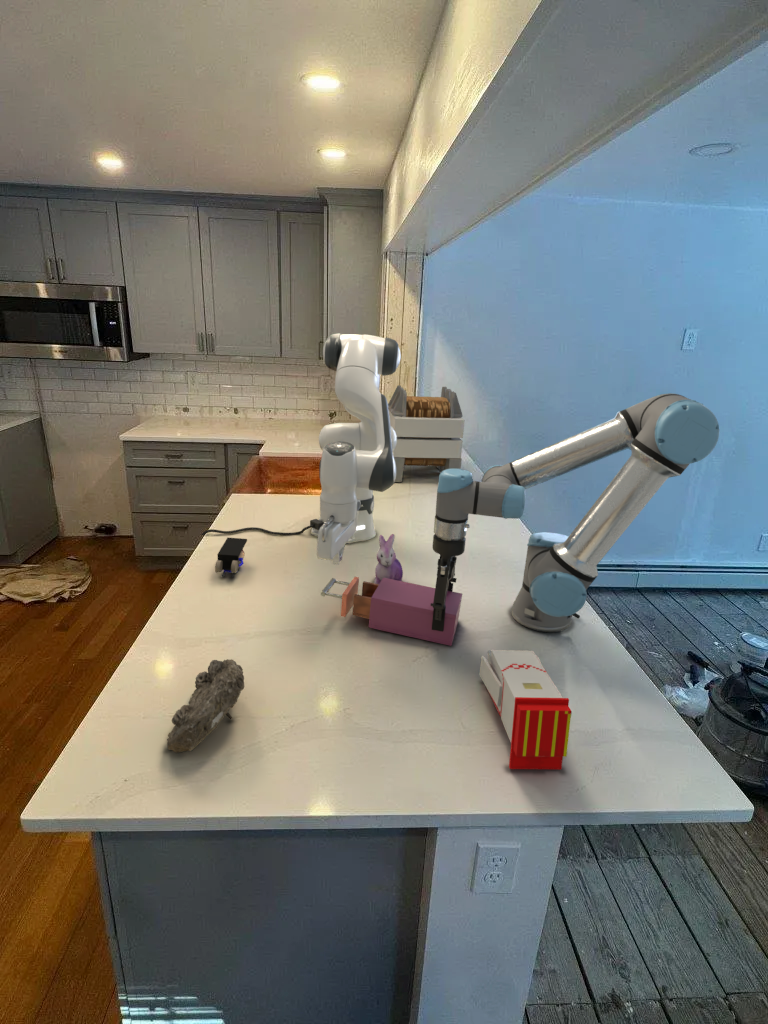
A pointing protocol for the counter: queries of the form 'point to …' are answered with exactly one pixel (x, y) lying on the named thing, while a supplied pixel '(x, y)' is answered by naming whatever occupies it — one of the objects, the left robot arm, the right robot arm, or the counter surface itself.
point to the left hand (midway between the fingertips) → (337, 562)
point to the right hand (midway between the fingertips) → (441, 617)
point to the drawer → (353, 597)
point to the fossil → (206, 705)
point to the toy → (528, 708)
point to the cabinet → (412, 611)
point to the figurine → (387, 561)
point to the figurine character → (230, 556)
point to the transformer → (426, 430)
